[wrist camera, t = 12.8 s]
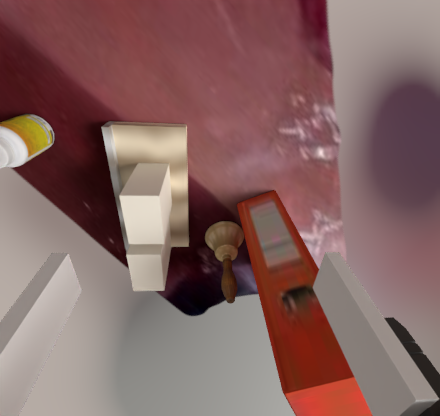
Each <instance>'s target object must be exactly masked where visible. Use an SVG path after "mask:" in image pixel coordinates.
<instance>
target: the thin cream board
mask: <svg viewBox="0 0 440 416" xmlns="http://www.w3.org/2000/svg"><path fill="white" fill-rule="evenodd" d="M101 128H102V133H103V138H104V143H105V148H106V153H107V158H108V163H109V168H110V173H111V180H112V185H113V190H114V195H115V198H116V203H117V209H118V214H119V219H120V224H121V230H122V235H123V240H124V244H125V249H126V252H127V251H128V249H129V246H130V244H129V242H128V237H127V232H126V227H125V222H124V217H123V212H122V207H121V202H120V197H119V195H120V193H121V192H122V190H123V188H124V186H125V185H126V183H127V181H128V180H129V178H130V176H131V174H132V173H133V171H134V169H135V168H136V166H137V164H138V163H169V170H170V184H171V197H172V207H171V212H170V217H169V221H170V235H171V247H189V213H188V164H187V124H167V123H140V122H113V121H109V122H107V123H106V124H105V125H103V126H102V127H101Z"/></svg>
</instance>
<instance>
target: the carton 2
mask: <svg viewBox="0 0 440 416" xmlns="http://www.w3.org/2000/svg"><path fill="white" fill-rule="evenodd" d="M170 252H171V235H170V221H169V222H168V227H167V232H166V237H165V242H164V244H130V246H129V249H128V251H127V254H126V256H127V261H128V266H129V271H130V276H131V281H132V286H133V291H164V289H165V283H166V277H167V270H168V264H169V258H170Z"/></svg>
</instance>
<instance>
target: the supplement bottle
mask: <svg viewBox="0 0 440 416" xmlns="http://www.w3.org/2000/svg"><path fill="white" fill-rule="evenodd" d="M53 142H54V132H53V130H52V128H51V126H50V125H49V124H48V123H47V122H46V121H45V120H44V119H42V118H40V117H38V116H36V115H32V114H24V115H21V116H18V117H15V118H12V119H9V120H6V121H3V122H0V168H3V167H18V166H20V165H22V164H24V163H26V162H27V161H29V160H30V159H32V158H34V157H35V156H37V155H39V154H40V153H42V152H43V151H45V150H46V149H48V148H49V147H51V146H52V144H53Z"/></svg>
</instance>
